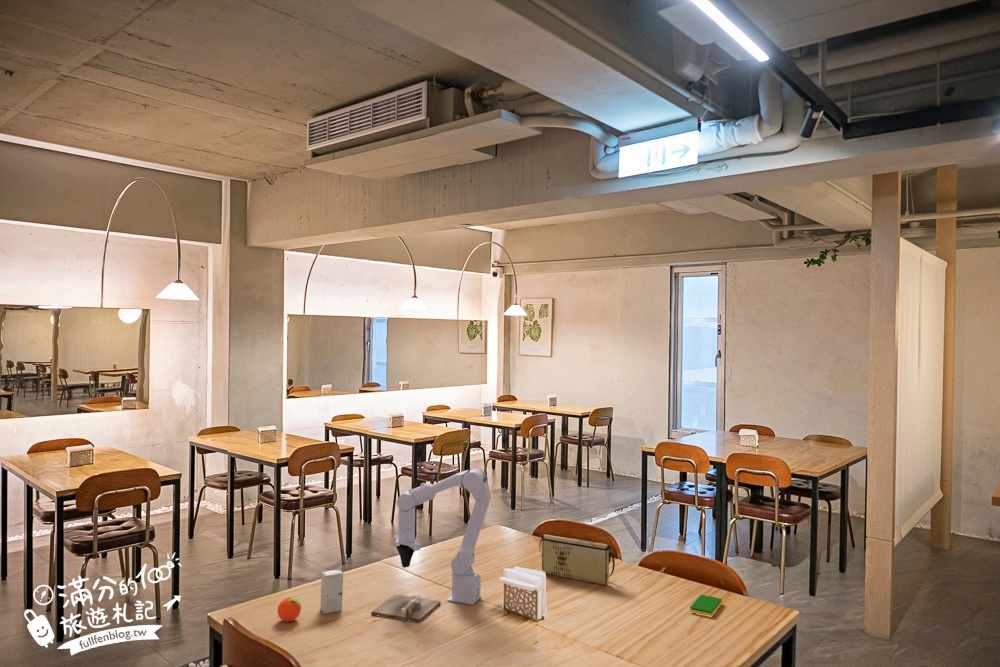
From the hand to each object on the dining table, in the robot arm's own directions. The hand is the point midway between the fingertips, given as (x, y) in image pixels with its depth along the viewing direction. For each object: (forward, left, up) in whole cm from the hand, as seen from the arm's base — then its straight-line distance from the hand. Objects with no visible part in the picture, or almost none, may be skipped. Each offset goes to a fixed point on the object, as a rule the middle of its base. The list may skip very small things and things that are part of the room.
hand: (405, 566), depth 230 cm
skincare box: (+16, +21, -10) cm, 28 cm away
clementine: (+23, +33, -10) cm, 41 cm away
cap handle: (-9, +15, -8) cm, 19 cm away
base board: (-7, +12, -9) cm, 17 cm away
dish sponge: (-99, -24, -10) cm, 102 cm away
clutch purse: (-52, -38, -10) cm, 65 cm away
